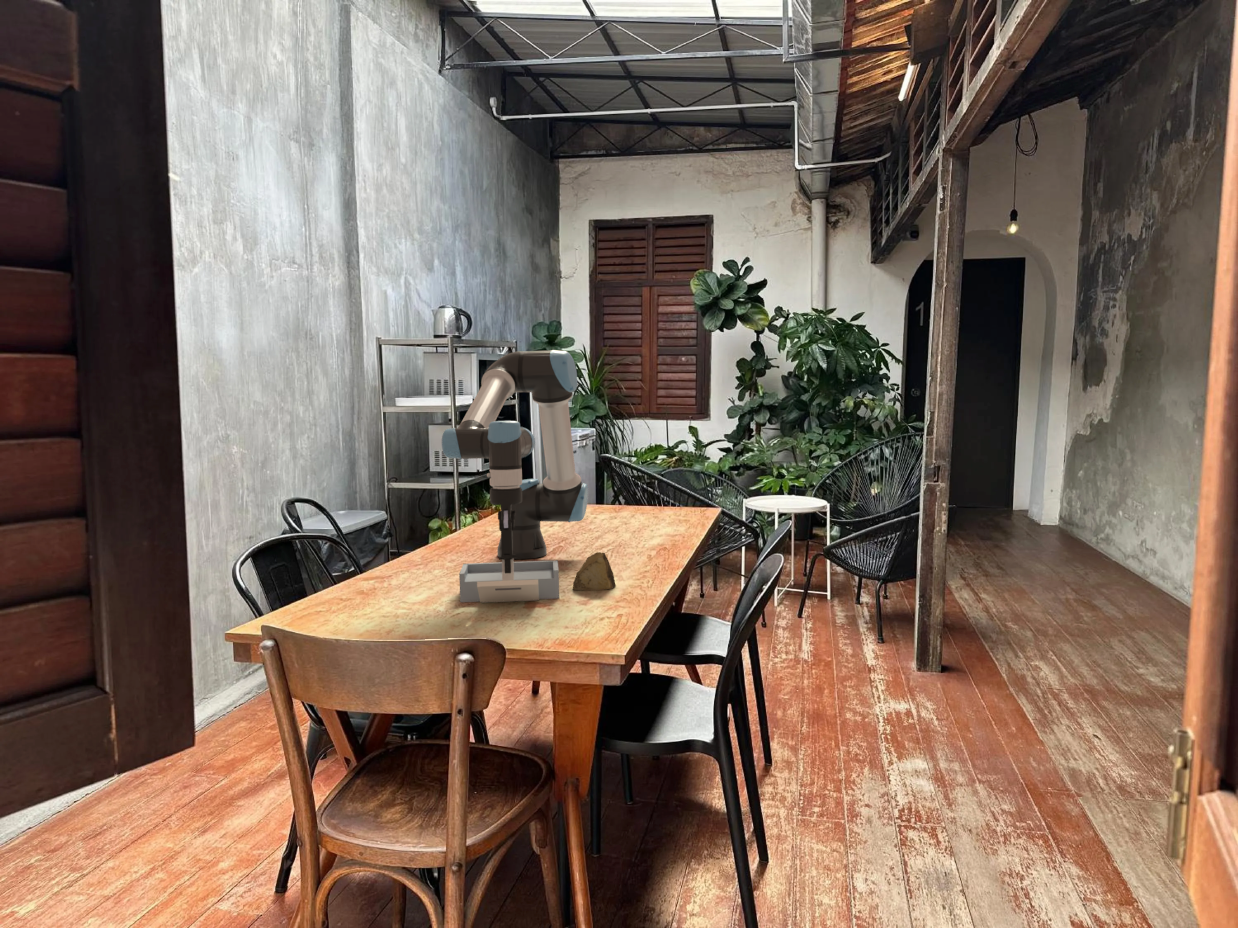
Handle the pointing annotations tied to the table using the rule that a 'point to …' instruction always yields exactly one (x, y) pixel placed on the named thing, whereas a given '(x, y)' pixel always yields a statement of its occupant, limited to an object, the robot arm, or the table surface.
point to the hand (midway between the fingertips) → (508, 585)
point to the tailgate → (508, 590)
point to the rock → (595, 574)
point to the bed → (522, 571)
